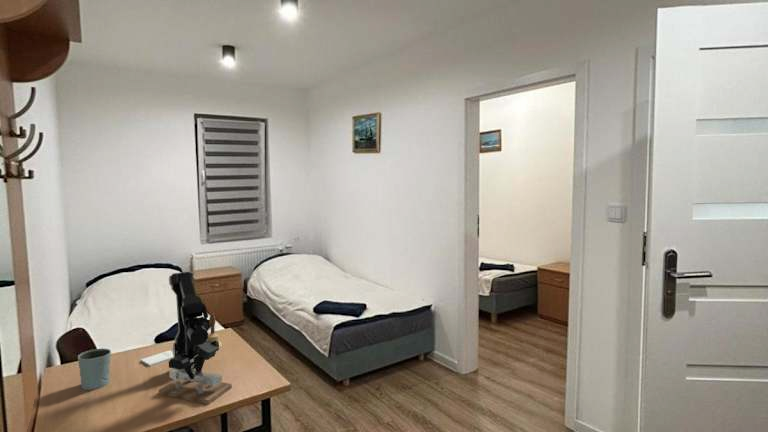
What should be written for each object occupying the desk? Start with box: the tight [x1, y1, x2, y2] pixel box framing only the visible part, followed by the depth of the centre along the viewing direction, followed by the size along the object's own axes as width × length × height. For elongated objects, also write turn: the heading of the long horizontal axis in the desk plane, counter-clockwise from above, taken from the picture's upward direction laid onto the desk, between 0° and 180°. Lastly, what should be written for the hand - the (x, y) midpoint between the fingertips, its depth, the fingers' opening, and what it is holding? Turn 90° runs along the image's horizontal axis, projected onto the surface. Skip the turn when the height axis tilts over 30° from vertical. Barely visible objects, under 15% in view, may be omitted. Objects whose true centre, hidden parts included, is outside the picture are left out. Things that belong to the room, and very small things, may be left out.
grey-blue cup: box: [77, 348, 112, 391], centre depth 156 cm, size 10×10×12 cm
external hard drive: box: [139, 350, 174, 368], centre depth 179 cm, size 2×8×12 cm
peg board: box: [158, 379, 233, 405], centre depth 152 cm, size 22×12×4 cm, turn 72°
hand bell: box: [206, 312, 223, 349], centre depth 192 cm, size 8×8×16 cm
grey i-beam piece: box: [168, 368, 223, 387], centre depth 152 cm, size 20×4×2 cm, turn 72°
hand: (195, 376), depth 152 cm, fingers closed on grey i-beam piece, 3 cm apart
